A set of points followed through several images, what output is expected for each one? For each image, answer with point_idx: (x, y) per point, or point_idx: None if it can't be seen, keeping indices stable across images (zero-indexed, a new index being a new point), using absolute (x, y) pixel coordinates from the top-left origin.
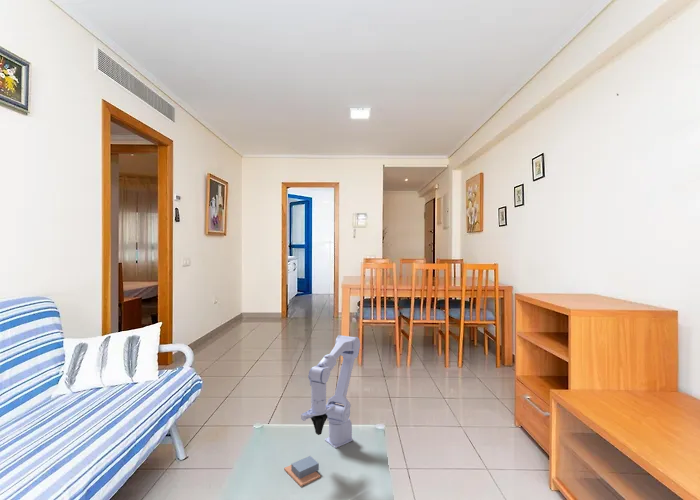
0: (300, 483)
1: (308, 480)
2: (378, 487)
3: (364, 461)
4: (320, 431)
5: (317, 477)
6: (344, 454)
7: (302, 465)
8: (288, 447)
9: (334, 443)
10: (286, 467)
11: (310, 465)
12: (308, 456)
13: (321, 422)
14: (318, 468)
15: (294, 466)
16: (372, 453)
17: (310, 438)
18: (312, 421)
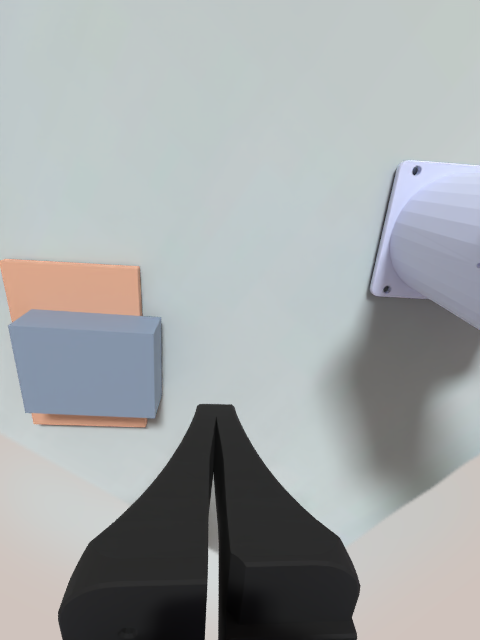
0: (36, 414)
1: (80, 420)
2: None
3: (375, 452)
4: (214, 478)
5: (129, 425)
6: (359, 362)
7: (65, 380)
8: (136, 22)
9: (395, 268)
10: (14, 266)
11: (106, 405)
12: (139, 334)
13: (219, 595)
14: (159, 399)
15: (17, 358)
16: (451, 436)
17: (350, 43)
18: (144, 497)
